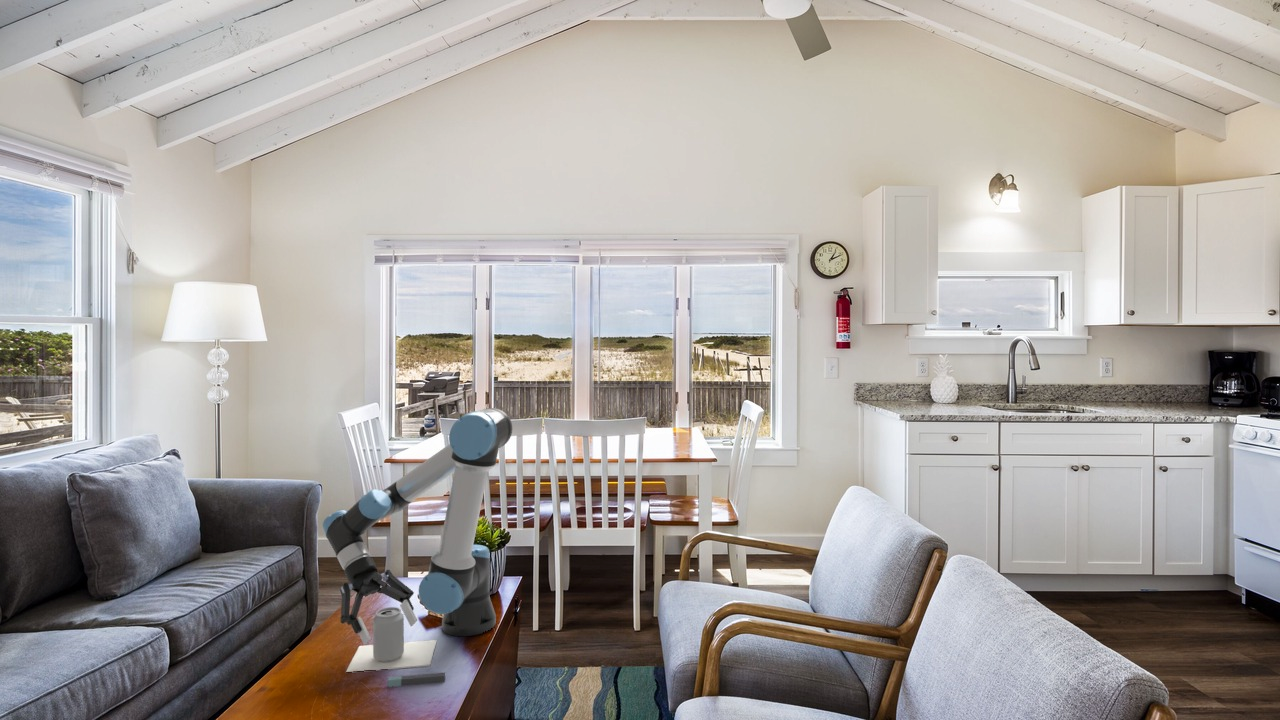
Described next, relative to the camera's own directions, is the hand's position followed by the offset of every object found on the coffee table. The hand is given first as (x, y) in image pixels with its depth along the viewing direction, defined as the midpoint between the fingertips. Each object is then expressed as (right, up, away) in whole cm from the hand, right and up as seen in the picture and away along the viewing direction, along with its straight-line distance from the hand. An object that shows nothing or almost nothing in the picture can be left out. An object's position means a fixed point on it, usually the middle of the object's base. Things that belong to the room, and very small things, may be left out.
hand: (391, 632), depth 170 cm
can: (-1, -7, +1) cm, 7 cm away
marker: (+10, -8, -11) cm, 17 cm away
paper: (0, -7, +2) cm, 8 cm away
